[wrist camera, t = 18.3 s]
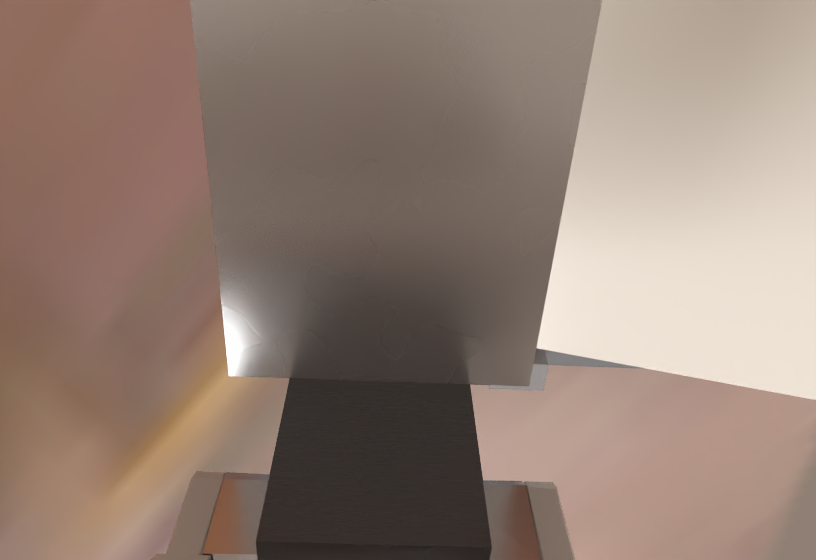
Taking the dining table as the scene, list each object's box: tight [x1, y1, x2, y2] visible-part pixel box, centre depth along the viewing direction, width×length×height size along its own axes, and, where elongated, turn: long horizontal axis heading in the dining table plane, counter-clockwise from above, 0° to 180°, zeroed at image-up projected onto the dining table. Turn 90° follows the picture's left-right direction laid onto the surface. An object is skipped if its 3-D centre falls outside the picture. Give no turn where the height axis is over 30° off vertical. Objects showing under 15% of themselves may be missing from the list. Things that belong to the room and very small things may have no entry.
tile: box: [537, 0, 816, 400], centre depth 21 cm, size 12×14×1 cm
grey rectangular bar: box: [190, 0, 602, 560], centre depth 10 cm, size 16×5×4 cm, turn 177°
